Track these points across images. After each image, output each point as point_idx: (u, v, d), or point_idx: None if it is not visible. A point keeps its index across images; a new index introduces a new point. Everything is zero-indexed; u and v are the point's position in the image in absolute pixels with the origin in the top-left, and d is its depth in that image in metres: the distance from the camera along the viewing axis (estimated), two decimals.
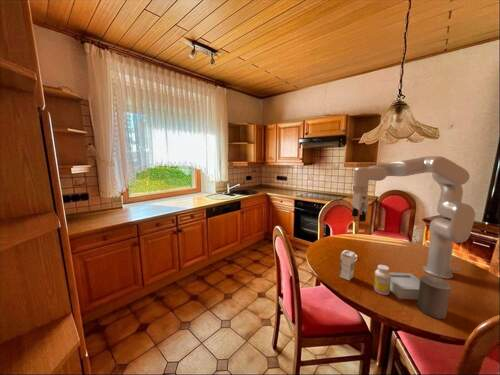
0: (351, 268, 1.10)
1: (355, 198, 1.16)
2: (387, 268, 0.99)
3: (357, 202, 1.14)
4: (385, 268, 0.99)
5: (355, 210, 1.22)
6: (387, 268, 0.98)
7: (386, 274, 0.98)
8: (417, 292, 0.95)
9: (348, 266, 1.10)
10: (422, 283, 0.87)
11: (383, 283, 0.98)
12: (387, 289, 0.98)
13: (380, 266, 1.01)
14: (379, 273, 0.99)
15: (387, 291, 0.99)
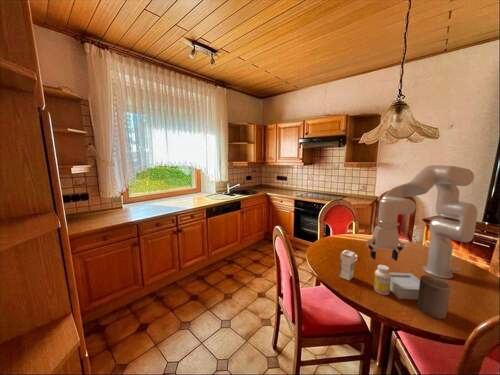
0: (351, 268, 1.10)
1: (389, 237, 0.95)
2: (387, 268, 0.99)
3: (394, 241, 0.95)
4: (385, 268, 0.99)
5: None
6: (387, 268, 0.98)
7: (386, 274, 0.98)
8: (417, 292, 0.95)
9: (348, 266, 1.10)
10: (422, 283, 0.87)
11: (383, 283, 0.98)
12: (387, 289, 0.98)
13: (380, 266, 1.01)
14: (379, 273, 0.99)
15: (387, 291, 0.99)
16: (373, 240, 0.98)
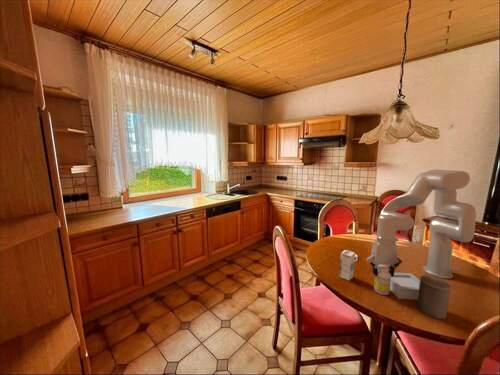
0: (351, 268, 1.10)
1: (388, 253, 0.96)
2: (387, 268, 0.99)
3: (393, 256, 0.97)
4: (385, 268, 0.99)
5: None
6: (387, 268, 0.98)
7: (386, 274, 0.98)
8: (417, 292, 0.95)
9: (348, 266, 1.10)
10: (422, 283, 0.87)
11: (383, 283, 0.98)
12: (387, 289, 0.98)
13: (380, 266, 1.01)
14: (379, 273, 0.99)
15: (387, 291, 0.99)
16: (372, 257, 1.00)
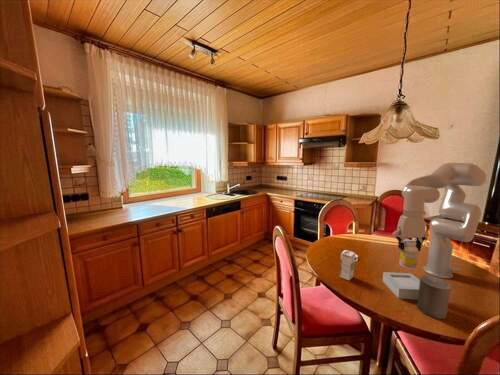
0: (351, 268, 1.10)
1: (416, 226, 0.95)
2: (414, 242, 0.98)
3: (421, 229, 0.95)
4: (411, 242, 0.98)
5: None
6: (414, 242, 0.97)
7: (413, 248, 0.97)
8: (417, 292, 0.95)
9: (348, 266, 1.10)
10: (422, 283, 0.87)
11: (410, 257, 0.97)
12: (414, 263, 0.97)
13: (406, 240, 1.00)
14: (406, 247, 0.98)
15: (414, 265, 0.97)
16: (399, 231, 0.98)
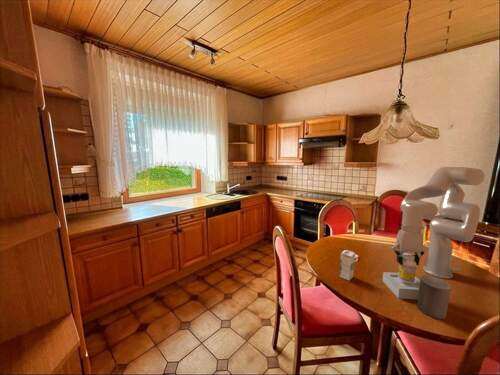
0: (351, 268, 1.10)
1: (414, 241, 0.96)
2: (412, 256, 0.99)
3: (419, 244, 0.97)
4: (410, 256, 0.99)
5: None
6: (413, 257, 0.98)
7: (412, 262, 0.98)
8: (417, 292, 0.95)
9: (348, 266, 1.10)
10: (422, 283, 0.87)
11: (408, 272, 0.98)
12: (412, 277, 0.98)
13: (405, 254, 1.01)
14: (404, 261, 0.99)
15: (412, 279, 0.98)
16: (397, 246, 0.99)
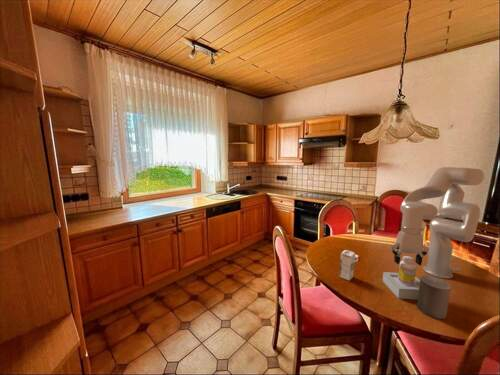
0: (351, 268, 1.10)
1: (414, 242, 0.96)
2: (412, 259, 0.99)
3: (419, 246, 0.97)
4: (410, 259, 0.99)
5: None
6: (413, 259, 0.99)
7: (412, 265, 0.98)
8: (417, 292, 0.95)
9: (348, 266, 1.10)
10: (422, 283, 0.87)
11: (408, 274, 0.98)
12: (412, 280, 0.99)
13: (405, 257, 1.01)
14: (404, 264, 1.00)
15: (412, 282, 0.99)
16: (397, 245, 0.99)
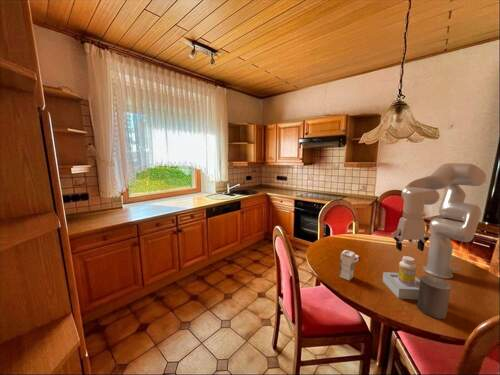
0: (351, 268, 1.10)
1: (416, 228, 0.96)
2: (412, 259, 0.99)
3: (421, 231, 0.96)
4: (410, 259, 0.99)
5: None
6: (413, 259, 0.99)
7: (412, 265, 0.98)
8: (417, 292, 0.95)
9: (348, 266, 1.10)
10: (422, 283, 0.87)
11: (408, 274, 0.98)
12: (412, 280, 0.99)
13: (405, 257, 1.01)
14: (404, 264, 1.00)
15: (412, 282, 0.99)
16: (399, 232, 0.98)
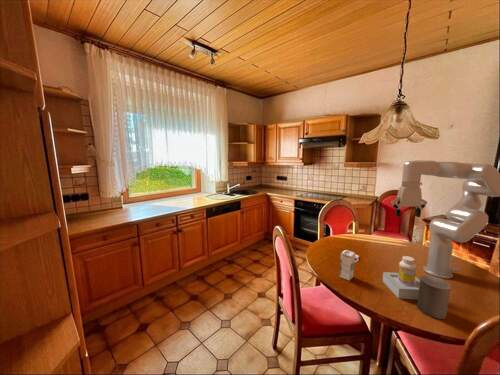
0: (351, 268, 1.10)
1: (413, 195, 1.06)
2: (412, 259, 0.99)
3: (418, 198, 1.06)
4: (410, 259, 0.99)
5: None
6: (413, 259, 0.99)
7: (412, 265, 0.98)
8: (417, 292, 0.95)
9: (348, 266, 1.10)
10: (422, 283, 0.87)
11: (408, 274, 0.98)
12: (412, 280, 0.99)
13: (405, 257, 1.01)
14: (404, 264, 1.00)
15: (412, 282, 0.99)
16: (398, 199, 1.09)
